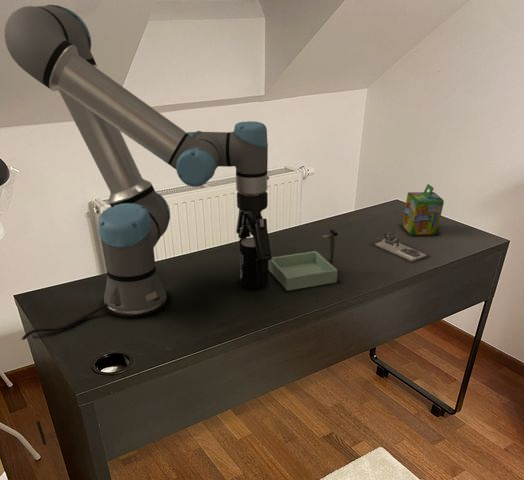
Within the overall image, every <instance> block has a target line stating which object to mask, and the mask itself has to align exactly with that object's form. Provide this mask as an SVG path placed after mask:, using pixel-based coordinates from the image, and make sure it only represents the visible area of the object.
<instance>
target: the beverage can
mask: <svg viewBox="0 0 524 480" xmlns="http://www.w3.org/2000/svg"><path fill="white" fill-rule="evenodd" d="M256 258H258V255H257V251H256V247H255V243H254V239H253V237H247V238H245V239H243V240H242V241H241V245H240V244H239V281H240V284H241V285H242V286H243V287H244V288H246V289H258V288H261V287H263V285H264V284H265V283H260V284H258V283H257V261H256Z"/></svg>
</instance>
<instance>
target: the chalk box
mask: <svg viewBox="0 0 524 480" xmlns="http://www.w3.org/2000/svg"><path fill="white" fill-rule="evenodd" d="M434 189H435V188H434V187H433V186H432V185H430V184H429V183H428V184H427V185H426V186H425V188H424V190H423V191H415V192H414V191H413V192H412V191H411V192H409V191H408V192H407V195H406V200H405V205H404V206H405V208H404V211H403V217H402V220H401V227H402V228H404V230H405V231H406V232H407V233H408V234H409V235H410V236H436V235H438V231H439V225H440V221H441V217H442V212H443V208H444V203H445V200H444V199H443V198H442V197H440V196H439V195H438V194H437V193H436V192H434ZM428 190H429V191H428Z"/></svg>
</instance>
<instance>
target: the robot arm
mask: <svg viewBox="0 0 524 480" xmlns="http://www.w3.org/2000/svg"><path fill="white" fill-rule="evenodd" d="M4 25H5V26H4V42H5V46H6V48H7V51H8V53H9V54H10V56H11V58H12V59H13V61H14V62H15V63H16V64H17V65H18V66H19V68H21V70H23V71H24V72H26V73H27V74H28V75H30V76H31V77H32V78H34V79H35V80H36V81H37V82H39V83H40V84H42V86H43V85H44V87H46V88H48V89H49V90H51V91H52V92H57V91H58V92H59V94H60V96H61V98H62V100H63V102H64V103H65V105H66V108H67V109H68V112H69V113H70V116H71V117H72V120H73V121H74V124H75V125H76V127H77V129H78V131H79V133H80V135H81V138H82V139H83V141H84V143H85V145H86V147H87V149H88V151H89V154H90V155H91V157H92V160H93V161H94V163H95V165H96V167H97V168H98V171H99V172H100V175H101V176H102V178H103V180H104V182H105V185H106V186H107V189H108V190H109V193H110V194H109V198H108V201H107V203H108V204H109V207H107V208H106V209H104V210H103V211H102V212H101V213H100V215H99V217H98V235H99V238H100V243H101V248H102V255H103V259H104V265H105V270H106V277H107V278H106V284H105V290H104V294H103V304H102V305H100V306H99V307H96V308H95V309H93V310H91V311H90V312H88V313H86V314H85V315H83V316H81V317H79V318H76V319H75V320H72V321H70V322H69V323H67V324H65V325H62V326H58V327H40V328H35V329H32V330H29V331H27V332H26V333H25V334H24V335H23V336H22V337H21V340H22V341H24V340H26V339H27V338H28V337H29V336H30V335H32V334H34V333H39V332H56V331H62V330H65V329H68V328H69V327H73V326H74V325H76V324H77V323H79V322H81V321H83V320H85V319H87V318H89V317H91V316H93V315H94V314H96V313H98V312H99V311H101V310H102V309H105V310H106V311H107V312H108V313H109V314H111V315H113V316H117V317H123V318H139V317H144V316H145V317H146V316H149V315H152V314H154V313H156V312H158V311H160V310H161V309H163V308H164V307H165V306H166V304H167V301H168V300H167V299H168V297H167V292H166V289H165V287H164V285H163V283H162V281H161V279H160V276H159V274H158V272H157V266H156V258H155V246H156V245H157V243H159V241H160V239H161V237H163V235H164V234H165V233H166V232H167V230H168V227H169V224H170V222H171V221H170V220H171V210H170V209H171V208H170V206H169V204H168V202H167V200H166V199H165V198H164V196H162V194H160V193H158V192H156V190H155V188H154V186H153V184H152V182H151V181H149V180H147V179H144V178H143V177H142V174H141V172H140V170H139V168H138V166H137V163H136V161H135V160H134V157H133V155H132V153H131V151H130V148H129V147H128V144H127V143H126V140H125V138H124V136H127V137H128V138H130V139H131V140H132V141H134V142H135V143H137V144H138V145H140V147H141V146H142V147H143V148H144V149H145V150H147V151H149V152H150V154H153V155H154V156H156V158H158V159H160V160H162V162H164V163H166V164H167V165H169V166H170V167H171V168H173V169H175V171H176V174H177V176H178V178H179V179H180V181H181V182H182V183H183V184H184V185H186V186H189V187H192V188H198V187H202V186H205V184H207V183H208V182H209V181H210V180H211V179H212V178H213V177H214V175H215V173H216V170H217V169H218V167H224V168H225V167H228V168H229V167H231V168H232V167H235V189H236V191H237V192H236V207H237V208H238V216H237V223H236V231H235V233H236V235H237V234H238V239H239V241H238V242H239V246H240V245H241V241H242V240H243V239H245V238H253V239H254V243H255V247H256V251H257V255H258V258H256V261H257V283H258V284H260V283H264V284H265V283H268V282H269V260H271V259H272V257H273V256H272V251H271V244H270V239H269V232H268V231H269V230H268V219H267V218H263V216H262V211H264V210H266V209H267V208H268V206H269V205H268V201H269V200H268V192H267V191H268V181H269V180H270V176H269V175H268V165H269V164H268V163H269V162H268V159H269V157H268V156H269V155H268V154H269V152H268V151H269V142H268V129H267V126H266V125H265V123H263V122H260V121H253V120H251V121H240V122H237V123H236V124H234V128H233V131H201V130H197V131H188V132H187V131H185V130H184V129H182V128H181V127H180V126H179V125H177V124H175V123H174V122H173V121H171V120H170V119H169V118H167V117H166V116H165V115H163V114H162V113H160V112H159V111H157V110H156V109H155V108H153V107H152V106H150V105H149V104H147V103H146V102H145V101H143V100H142V99H141V98H139V97H138V96H137V95H135V94H133V93H132V92H131V91H129V90H128V89H126V88H125V87H124V86H122V85H121V84H120V83H118V82H117V81H116V80H114V79H112V78H111V77H110V76H108V75H107V74H106V73H104V72H103V71H101V70H100V69H99V68H98V65H97V63H96V60H95V59H94V56H93V53H92V51H91V50H92V37H91V33H90V31H89V28H88V26H87V25H86V23H85V22H84V20H83V19H82V18H81V16H79V15H78V14H77V13H76V12H74V11H73V10H71V9H69V8H67V7H63V6H61V5H58V4H57V5H56V4H47V5H38V6H36V5H35V6H33V5H28V6H22V7H19V8H17V9H16V10H14V11H13V12H12V13H11V14H10V15H9V16H8V18H7V20H6V23H5V24H4ZM123 134H124V136H123ZM35 422H36V425H37V428H38V432H39V435H40V438H41V441H42V445H43V446H45V445H47V442H46V438H45V435H44V432H43V427H42V424H41V422H40V420H36V421H35Z"/></svg>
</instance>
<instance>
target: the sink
mask: <svg viewBox="0 0 524 480" xmlns="http://www.w3.org/2000/svg"><path fill="white" fill-rule="evenodd" d="M268 272H270V273H271V274H272V275H273V277H274V278H275V279H276V280H277V281H278V282H279V284H281V286H282V287H283V288H284V289H285V290H286V291H294V290H299V289H300V290H301V289H306V288H311V287H317V286H323V285H328V284H335V283H338V282H337V281H338V272H339V271H338V269H337V268H336V267H335V266H333V265H331V264H330V263H329V262H328V259H325V258H324V256H323V255H322V254H320V252H318V251H317V250H313V251H307V252H301V253H299V252H298V253H293V254H288V255H280V256H272V259H271V260H268Z"/></svg>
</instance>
